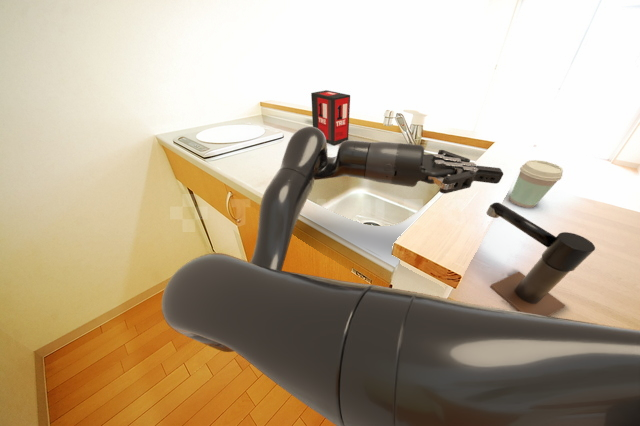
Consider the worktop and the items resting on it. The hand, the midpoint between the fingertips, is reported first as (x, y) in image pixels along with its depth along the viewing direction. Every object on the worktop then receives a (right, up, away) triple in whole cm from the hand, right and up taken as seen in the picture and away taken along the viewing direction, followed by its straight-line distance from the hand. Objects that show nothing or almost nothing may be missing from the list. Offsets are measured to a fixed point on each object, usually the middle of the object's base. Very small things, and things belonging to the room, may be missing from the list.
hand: (500, 176), depth 38 cm
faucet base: (+8, -22, +5) cm, 24 cm away
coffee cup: (+28, -4, +28) cm, 40 cm away
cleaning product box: (-25, +31, +75) cm, 85 cm away
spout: (+6, -11, +2) cm, 12 cm away
